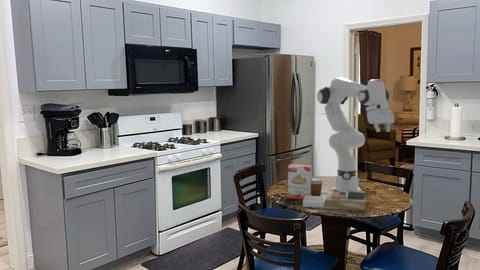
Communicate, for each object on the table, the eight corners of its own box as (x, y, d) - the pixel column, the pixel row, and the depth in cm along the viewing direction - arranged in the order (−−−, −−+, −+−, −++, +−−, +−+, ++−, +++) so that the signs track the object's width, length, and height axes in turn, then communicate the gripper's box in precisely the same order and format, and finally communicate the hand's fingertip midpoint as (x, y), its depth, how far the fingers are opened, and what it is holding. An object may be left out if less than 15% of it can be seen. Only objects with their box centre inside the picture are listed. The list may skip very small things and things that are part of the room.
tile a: (332, 195, 239) (332, 191, 238) (340, 195, 237) (340, 192, 237) (332, 197, 234) (332, 193, 234) (340, 197, 233) (340, 194, 233)
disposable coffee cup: (315, 200, 245) (315, 181, 243) (304, 197, 252) (304, 178, 251) (326, 198, 250) (326, 179, 249) (314, 194, 258) (314, 176, 256)
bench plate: (326, 202, 241) (326, 194, 241) (364, 204, 235) (364, 196, 235) (325, 208, 230) (325, 199, 229) (365, 210, 224) (365, 202, 223)
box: (305, 200, 245) (305, 195, 244) (325, 202, 242) (325, 196, 241) (303, 206, 233) (303, 200, 233) (324, 208, 230) (324, 202, 230)
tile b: (332, 197, 234) (332, 194, 234) (340, 197, 233) (340, 194, 232) (331, 199, 230) (332, 196, 229) (340, 199, 228) (340, 196, 228)
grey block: (346, 195, 238) (346, 188, 237) (364, 196, 235) (364, 189, 234) (345, 200, 226) (345, 193, 226) (364, 201, 223) (364, 194, 223)
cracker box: (287, 198, 251) (287, 165, 248) (290, 196, 256) (290, 163, 254) (310, 200, 245) (310, 167, 243) (312, 197, 251) (312, 165, 248)
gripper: (385, 108, 234) (389, 132, 232) (363, 108, 221) (367, 132, 220) (395, 106, 229) (398, 130, 227) (373, 105, 216) (377, 130, 215)
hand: (383, 131), depth 223 cm, fingers open, 8 cm apart
